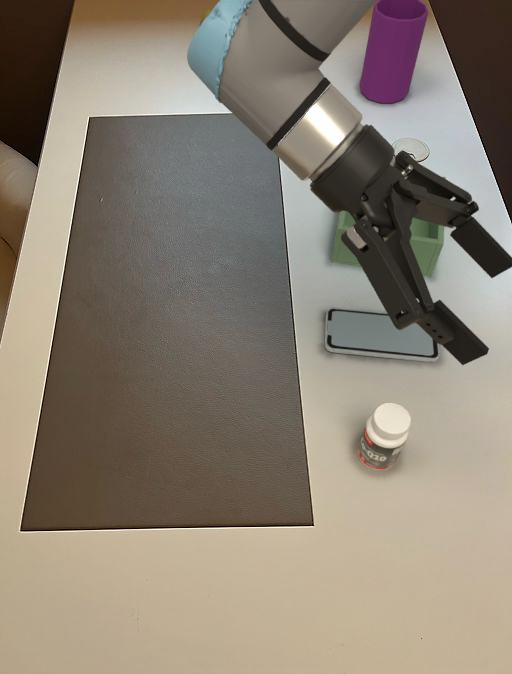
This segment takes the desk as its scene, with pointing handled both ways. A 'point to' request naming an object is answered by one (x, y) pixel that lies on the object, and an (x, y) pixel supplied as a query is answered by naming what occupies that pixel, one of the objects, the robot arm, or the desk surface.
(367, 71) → the mug
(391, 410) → the pill bottle
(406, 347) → the smartphone
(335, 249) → the open storage box
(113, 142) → the desk surface
